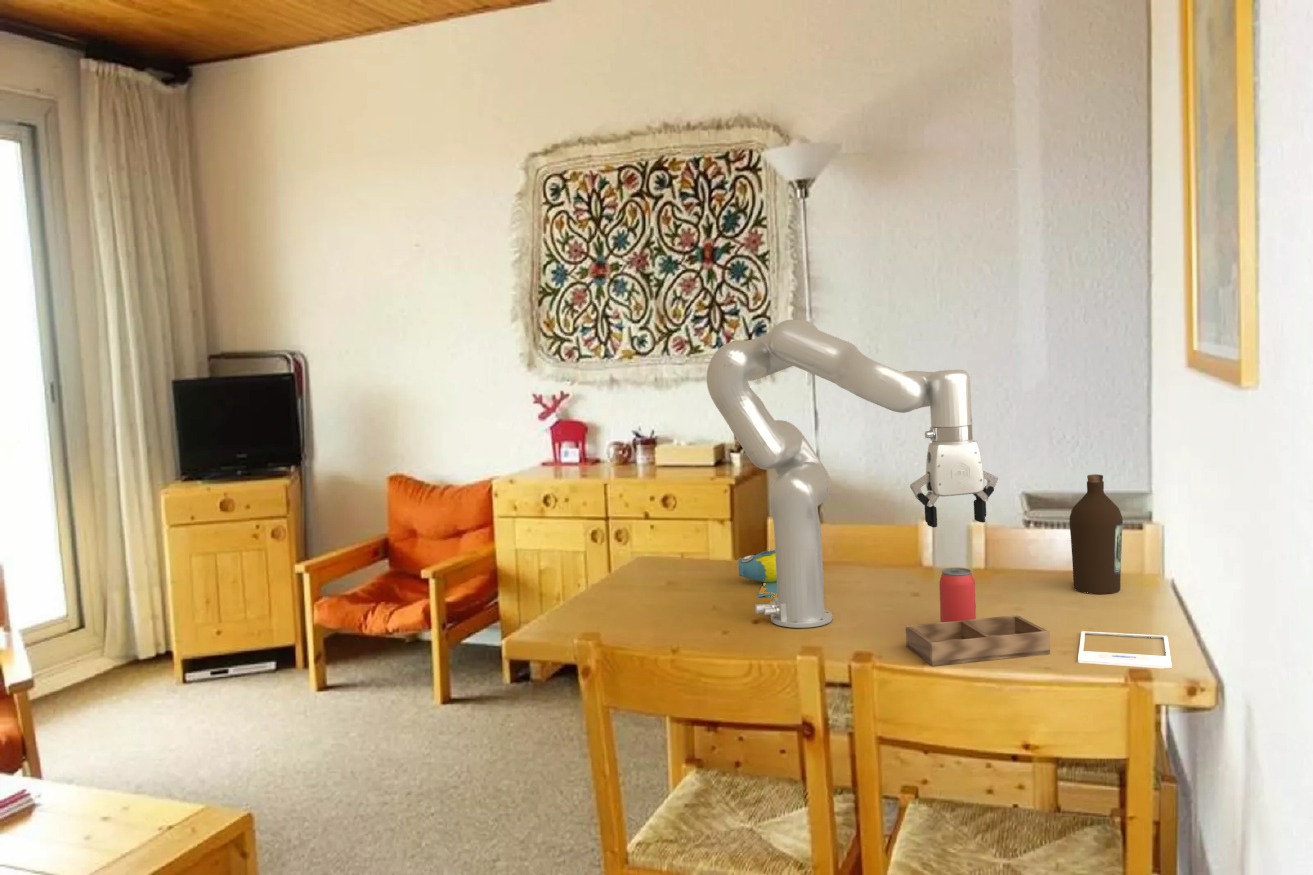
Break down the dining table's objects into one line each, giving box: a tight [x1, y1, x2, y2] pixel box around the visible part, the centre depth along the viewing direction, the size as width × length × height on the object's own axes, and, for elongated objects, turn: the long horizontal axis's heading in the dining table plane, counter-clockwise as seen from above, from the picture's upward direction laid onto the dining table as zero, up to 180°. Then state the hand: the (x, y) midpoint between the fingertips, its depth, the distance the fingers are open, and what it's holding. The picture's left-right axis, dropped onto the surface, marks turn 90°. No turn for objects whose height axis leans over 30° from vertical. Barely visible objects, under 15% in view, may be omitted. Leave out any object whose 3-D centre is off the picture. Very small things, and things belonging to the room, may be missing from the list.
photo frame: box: [1077, 630, 1173, 669], centre depth 189 cm, size 15×1×18 cm
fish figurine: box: [737, 549, 777, 598], centre depth 253 cm, size 28×9×15 cm
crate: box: [905, 614, 1051, 667], centre depth 194 cm, size 22×12×4 cm, turn 99°
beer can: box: [938, 567, 977, 623], centre depth 205 cm, size 7×7×12 cm
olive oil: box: [1069, 473, 1124, 595], centre depth 230 cm, size 11×11×25 cm
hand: (956, 523), depth 204 cm, fingers open, 9 cm apart
